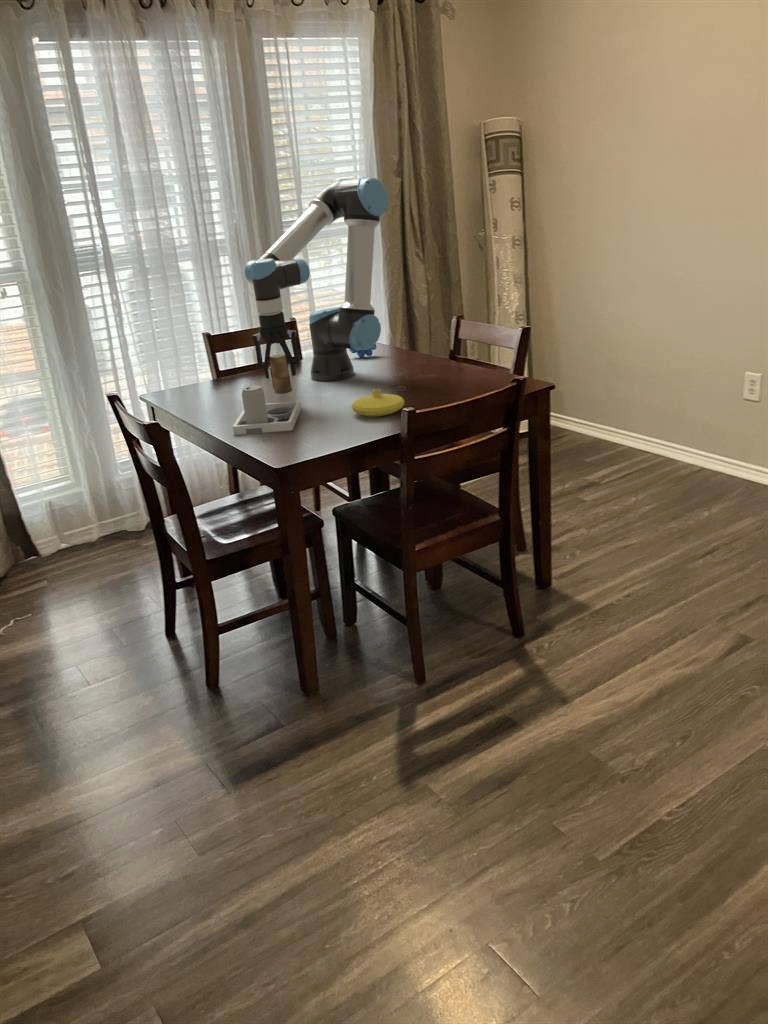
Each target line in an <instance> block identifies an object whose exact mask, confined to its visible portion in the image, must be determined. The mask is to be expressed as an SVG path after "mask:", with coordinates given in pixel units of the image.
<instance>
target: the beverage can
mask: <svg viewBox="0 0 768 1024" xmlns="http://www.w3.org/2000/svg"><path fill="white" fill-rule="evenodd" d="M241 390H242V391H241V399H242V405H243V409H244V413H245V419H246V425H248V424H260V423H269V422H268V418H267V411H266V404H267V403H266V399H265V397H266V396H265V392H264V388H263V386H262V385H259V384H258V385H257V384H254V385H253V384H252V385H246V386H244V387H242V388H241Z"/></svg>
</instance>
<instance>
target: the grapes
mask: <svg viewBox="0 0 768 1024" xmlns="http://www.w3.org/2000/svg"><path fill="white" fill-rule="evenodd" d="M375 350H377V343H376V344H374V346H373V347H372V348H370V349H367V350H354V349H349V352H351V354H356V355H357V357H359V358H365V356H367V357H372V355H373V354H374V353H373V351H375Z"/></svg>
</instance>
